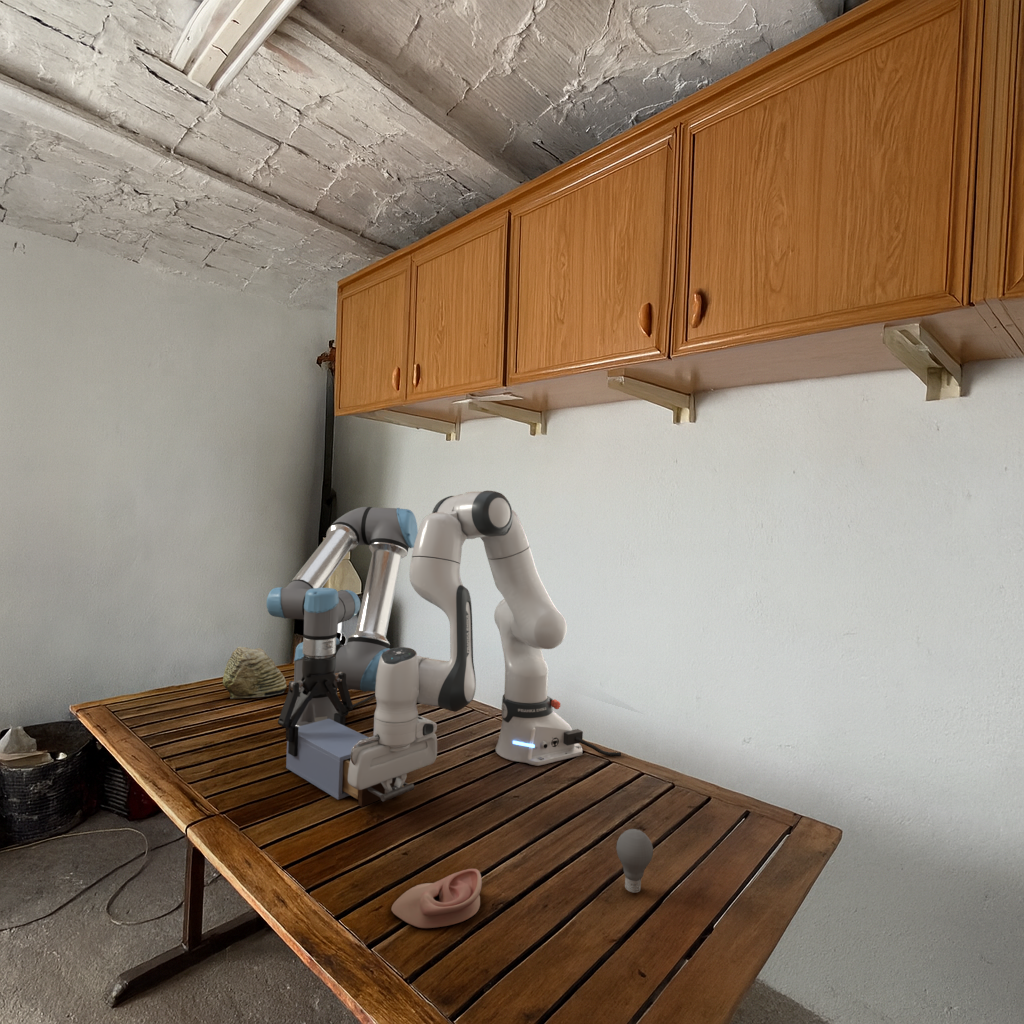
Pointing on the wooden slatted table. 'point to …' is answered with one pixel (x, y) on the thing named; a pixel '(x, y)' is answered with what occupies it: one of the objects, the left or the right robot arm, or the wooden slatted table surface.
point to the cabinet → (323, 754)
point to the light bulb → (634, 857)
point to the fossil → (252, 674)
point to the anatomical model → (441, 901)
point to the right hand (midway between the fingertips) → (392, 796)
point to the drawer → (371, 789)
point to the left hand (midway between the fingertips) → (315, 747)
